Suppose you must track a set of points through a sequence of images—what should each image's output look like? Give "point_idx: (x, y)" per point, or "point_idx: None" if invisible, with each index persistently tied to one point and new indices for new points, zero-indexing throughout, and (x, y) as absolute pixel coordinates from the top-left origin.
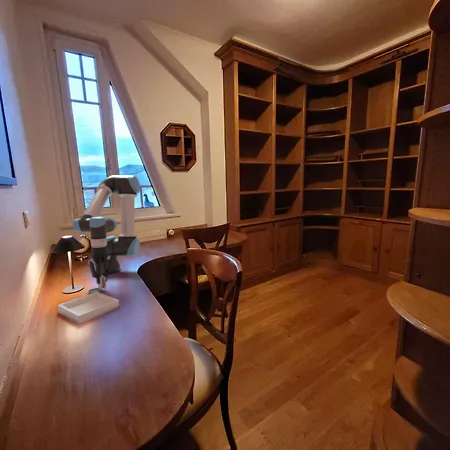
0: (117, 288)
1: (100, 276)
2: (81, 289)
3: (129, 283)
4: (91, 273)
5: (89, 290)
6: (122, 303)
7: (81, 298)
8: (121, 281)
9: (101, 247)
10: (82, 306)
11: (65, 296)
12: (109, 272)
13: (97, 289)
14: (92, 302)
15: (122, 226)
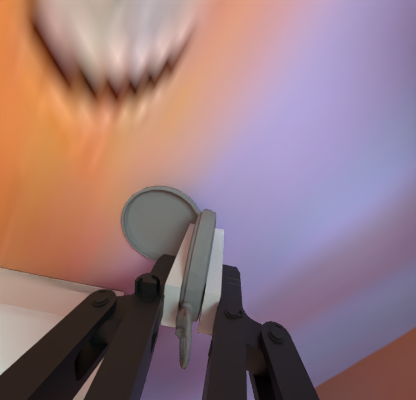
0: (266, 287)
1: (182, 308)
2: (147, 78)
3: (367, 295)
4: (45, 335)
5: (141, 192)
6: (149, 391)
7: (14, 310)
8: (397, 224)
9: None
10: (26, 318)
11: (21, 101)
12: (269, 381)
13: (190, 210)
14: None
15: None
